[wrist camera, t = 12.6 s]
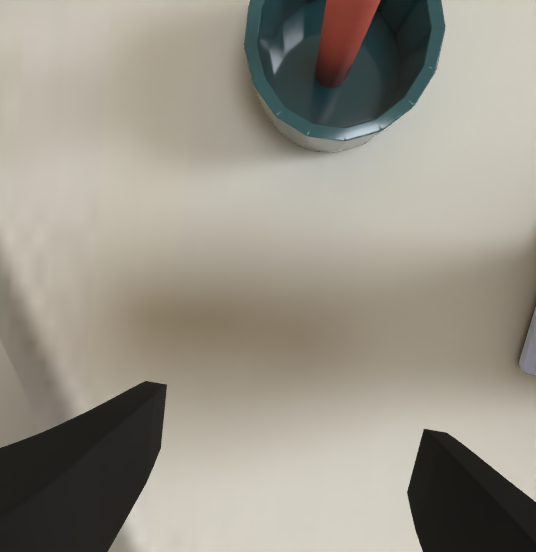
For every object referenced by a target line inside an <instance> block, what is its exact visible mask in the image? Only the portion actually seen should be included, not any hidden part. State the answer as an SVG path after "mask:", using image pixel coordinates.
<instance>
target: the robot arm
mask: <svg viewBox="0 0 536 552" xmlns="http://www.w3.org/2000/svg"><path fill="white" fill-rule="evenodd" d="M519 366H520V368H521V369H522V370H523V371H524V372H525V373H528V374H532V375H536V307H535V310H534V314H533V317H532V320H531V324H530V327H529V330H528V334H527V337H526V340H525V343H524V347H523V350H522V353H521V357H520V360H519ZM166 389H167V385H166V384H160V383H154V382H148V381H145V382H143V383H141V384H139V385H137V386H135V387H133V388H131V389H129V390H127V391H125V392H124V393H122V394H120V395H118V396H116V397H114V398H112V399H111V400H109V401H107V402H105V403H103V404H101V405H99V406H97V407H95V408H93V409H92V410H90V411H88V412H85V413H83V414H81V415H79V416H77V417H75V418H73V419H71V420H68V421H66V422H64V423H62V424H60V425H58V426H56V427H54V428H51V429H49V430H47V431H44V432H42V433H39V434H37V435H34V436H32V437H29V438H27V439H24V440H21V441H19V442H16V443H13V444H11V445H8V446H5V447H2V448H0V552H108V550H109V548H110V547H111V545H112V543H113V541H114V539H115V538H116V536H117V534H118V532H119V531H120V529H121V527H122V525H123V524H124V522H125V520H126V518H127V517H128V515H129V513H130V511H131V509H132V508H133V506H134V504H135V502H136V501H137V499H138V497H139V495H140V493H141V492H142V490H143V488H144V486H145V484H146V482H147V480H148V478H149V475H150V473H151V471H152V468H153V466H154V464H155V461H156V459H157V456H158V454H159V451H160V449H161V439H162V429H163V419H164V409H165V399H166ZM407 494H408V499H409V503H410V508H411V513H412V517H413V521H414V525H415V529H416V533H417V536H418V539H419V542H420V544H421V547H422V550H423V552H536V502H535V501H534V500H532V499H531V498H530V497H529V496H527V495H526V494H525V493H523V492H522V491H521V490H519V489H518V488H517V487H516V486H514V485H513V484H512V483H511V482H509V481H508V480H507V479H506V478H504V477H503V476H502V475H501V474H499V473H498V472H497V471H496V470H494V469H493V468H492V467H491V466H489V465H488V464H487V463H486V462H484V461H483V460H482V459H481V458H479V457H478V456H477V455H476V454H474V453H473V452H472V451H471V450H469V449H468V448H467V447H466V446H464V445H463V444H462V443H460V442H459V441H458V440H456V439H455V438H454V437H452V436H451V435H449V434H448V433H445V432H439V431H433V430H428V429H424V431H423V435H422V438H421V442H420V446H419V450H418V453H417V457H416V461H415V465H414V469H413V472H412V476H411V480H410V484H409V487H408V491H407Z"/></svg>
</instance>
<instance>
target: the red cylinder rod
mask: <svg viewBox="0 0 536 552" xmlns="http://www.w3.org/2000/svg"><path fill="white" fill-rule="evenodd" d="M379 3H380V0H326V6H325V12H324V18H323V25H322V31H321V37H320V44H319V50H318V56H317V63H316V70H315V72H316V77H317V80H318V81H319V83H320V84H321V85H323V86H325V87H327V88H335V87H338V86H340V85H341V84H342V83H343V82H344V81H345V80H346V78H347V76H348V73H349V71H350V69H351V67H352V64H353V62H354V60H355V57H356V55H357V53H358V51H359V48H360V46H361V44H362V42H363V39H364V37H365V35H366V32H367V30H368V28H369V26H370V23H371V21H372V19H373V16H374V14H375V12H376V10H377V7H378V5H379Z"/></svg>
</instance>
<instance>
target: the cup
mask: <svg viewBox="0 0 536 552" xmlns="http://www.w3.org/2000/svg"><path fill="white" fill-rule="evenodd" d="M325 6H326V0H250V2H249V6H248V14H247V23H246V32H245V41H244V46H245V47H244V49H245V53H246V57H247V61H248V65H249V69H250V73H251V77H252V81H253V85H254V87H255V90H256V93H257V95H258V98H259V100H260V103H261V105H262V108H263V110H264V111H265V113H266V114H267V116H268V117H269V119H270V120H271V122H272V123H273V125H274V126H275V127H276V128H277V129H278V131H279V132H280V133H281V134H282V135H284V136H285V137H286V138H288V139H289V140H290V141H292V142H293V143H295V144H297V145H299V146H301V147H304V148H306V149H309V150H314V151H318V152H339V151H344V150H348V149H351V148H354V147H357V146H360V145H363V144H365V143H366V142H368V141H369V140H370V139H372V138H373V137H374V136H376V135H377V134H379V133H380V132H381V131H383V130H384V129H385V128H387V127H388V126H389V125H391V124H392V123H393V122H394V121H396V120H397V119H398V118H400V117H401V116H402V115H404V114H405V113H406V112H408V111H409V110H410V109H412V107H413V106H414V105H415V104H416V102H417V101H418V99H419V98H420V96H421V94H422V93H423V91H424V90H425V88H426V86H427V85H428V83H429V82H430V80H431V79H432V77H433V75H434V74H435V71H436V69H437V65H438V61H439V56H440V51H441V47H442V42H443V37H444V32H445V22H444V15H443V9H442V2H441V0H380V3H379V5H378V7H377V10H376V12H375V14H374V16H373V19H372V21H371V23H370V26H369V28H368V30H367V32H366V35H365V37H364V39H363V42H362V44H361V46H360V48H359V51H358V53H357V55H356V57H355V60H354V62H353V64H352V67H351V69H350V71H349V73H348V76H347V78H346V80H345V81H344V82H343V83H342V84H341V85H340V86H338V87H335V88H327V87H325V86H323V85H321V84H320V83H319V81H318V80H317V77H316V72H315V70H316V63H317V56H318V50H319V44H320V37H321V31H322V25H323V18H324V12H325Z"/></svg>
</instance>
